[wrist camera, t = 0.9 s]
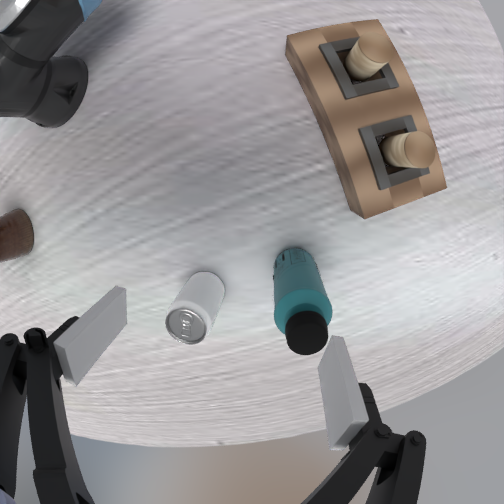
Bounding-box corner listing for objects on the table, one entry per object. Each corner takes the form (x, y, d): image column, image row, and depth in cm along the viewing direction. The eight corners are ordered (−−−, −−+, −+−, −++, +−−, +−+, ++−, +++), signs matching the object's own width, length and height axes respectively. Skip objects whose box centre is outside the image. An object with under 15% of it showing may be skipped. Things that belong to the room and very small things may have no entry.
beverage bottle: (281, 238, 41) (285, 301, 22) (321, 251, 41) (354, 320, 22) (267, 275, 43) (260, 357, 24) (306, 287, 43) (324, 372, 24)
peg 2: (374, 140, 30) (400, 135, 22) (399, 133, 29) (428, 127, 22) (384, 170, 31) (411, 172, 23) (408, 162, 30) (439, 163, 23)
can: (227, 274, 44) (211, 312, 32) (222, 308, 46) (207, 351, 34) (189, 266, 44) (162, 300, 32) (186, 300, 46) (162, 340, 35)
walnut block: (285, 55, 32) (287, 32, 25) (364, 37, 30) (379, 16, 22) (350, 210, 39) (367, 220, 31) (423, 183, 36) (450, 188, 29)
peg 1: (337, 58, 27) (352, 34, 19) (363, 53, 26) (382, 30, 19) (350, 84, 28) (369, 65, 20) (376, 78, 27) (399, 60, 20)
